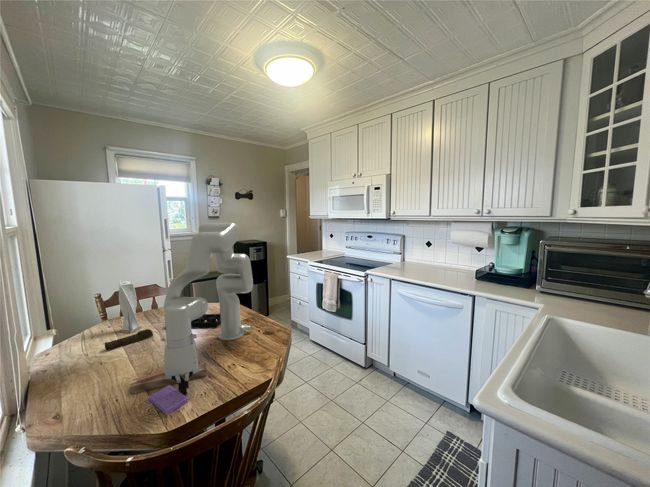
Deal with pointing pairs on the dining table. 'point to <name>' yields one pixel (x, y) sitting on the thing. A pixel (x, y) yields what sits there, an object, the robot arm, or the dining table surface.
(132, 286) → the skyscraper
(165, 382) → the walnut board
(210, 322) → the black openwork frame
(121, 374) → the dining table surface
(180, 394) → the sponges
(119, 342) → the hand tool
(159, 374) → the carpenters pencil
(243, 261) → the robot arm
